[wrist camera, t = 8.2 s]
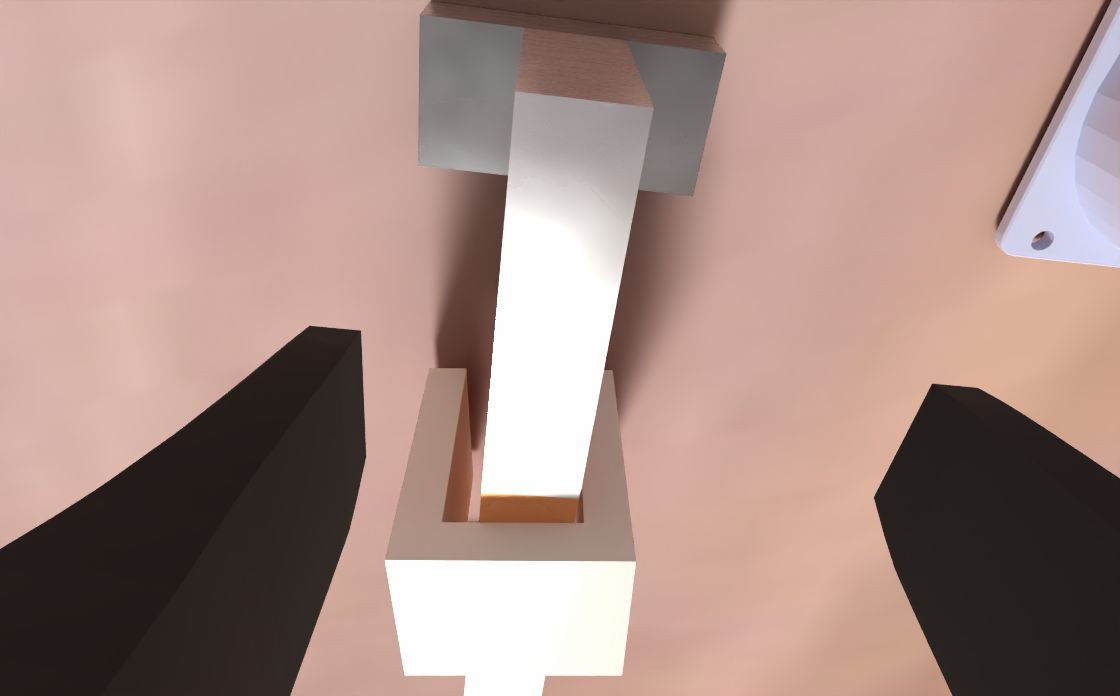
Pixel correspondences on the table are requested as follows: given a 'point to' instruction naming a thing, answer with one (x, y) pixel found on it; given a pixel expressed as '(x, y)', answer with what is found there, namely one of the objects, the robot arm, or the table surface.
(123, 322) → the table surface
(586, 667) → the clip
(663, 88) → the grey and orange bar
